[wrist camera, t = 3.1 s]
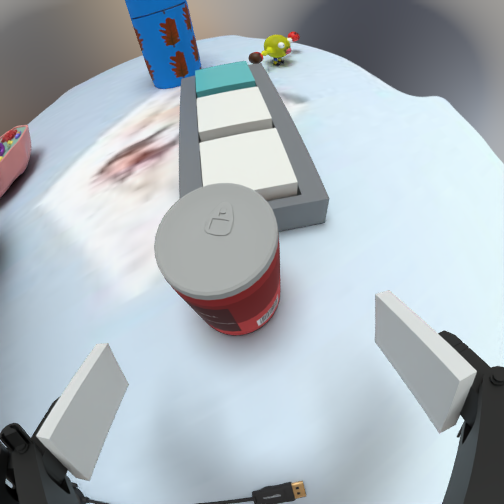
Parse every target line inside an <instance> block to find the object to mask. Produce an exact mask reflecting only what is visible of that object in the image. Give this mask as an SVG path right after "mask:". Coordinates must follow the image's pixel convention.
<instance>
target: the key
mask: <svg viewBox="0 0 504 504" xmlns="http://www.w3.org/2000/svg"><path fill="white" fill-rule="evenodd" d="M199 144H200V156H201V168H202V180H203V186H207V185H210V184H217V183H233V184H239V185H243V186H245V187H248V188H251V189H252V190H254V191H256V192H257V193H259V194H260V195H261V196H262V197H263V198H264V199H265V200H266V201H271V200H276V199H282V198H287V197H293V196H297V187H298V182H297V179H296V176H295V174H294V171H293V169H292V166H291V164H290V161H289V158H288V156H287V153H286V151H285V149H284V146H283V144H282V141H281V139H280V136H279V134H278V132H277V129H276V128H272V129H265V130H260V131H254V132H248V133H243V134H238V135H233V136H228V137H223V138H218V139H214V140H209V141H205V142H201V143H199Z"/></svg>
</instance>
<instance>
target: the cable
mask: <svg viewBox="0 0 504 504" xmlns="http://www.w3.org/2000/svg"><path fill="white" fill-rule="evenodd" d="M71 484H72V486H73V489H74V491H75V494H76V496H77V499H78V501H79V504H86V503H89V502H90V503H94V504H107V503H102V502H98V501H94V500H90V499H89V498H87V497H84V495H83V494H82V492H81V491H80V490H79V489H78V488H76V487H77V484H75V483H72V482H71ZM252 496H253V497H250V498H243V499H235V500H227V501H218V502H208V503H198V504H230V503H239V502H247V501H254V504H277V503H283V502H290V501H294V500H295V499H297V498H301V497H306V493H305V489H304V485H303V481H299V482H295V483H291V482H288V483H284V484H280V485H275V486H267V487H264V488H263V489H260V490H257V491H253V492H252Z"/></svg>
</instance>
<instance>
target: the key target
mask: <svg viewBox="0 0 504 504" xmlns="http://www.w3.org/2000/svg"><path fill="white" fill-rule="evenodd" d="M195 79H196V93H197V97H198V98H200V97H205V96H209V95H214V94H219V93H223V92H229V91H234V90H239V89H245V88H251V87H256V84H255V79H254V77H253V75H252V73H251V71H250V69H249V67H248V65H247V63H246V61H241V62H235V63H230V64H224V65H219V66H214V67H209V68H205V69H200V70H196V71H195Z"/></svg>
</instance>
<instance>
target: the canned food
mask: <svg viewBox="0 0 504 504" xmlns="http://www.w3.org/2000/svg"><path fill="white" fill-rule="evenodd" d="M154 248H155V258H156V261H157V264H158V267H159V269H160V271H161V273H162V274H163V276H164V278H165V279H166V281H167V282H168V283H169V284H170V285H171V286H172V288H173V289H174V290H175V291H176V292H177V293H178V294H179V295H180V296H181V297H182V298H183V299H184V300H185V301H186V302H187V303H188V304H189V305H190V306H191V307H192V308H193V309H194V310H195V311H196V312H197V313H198V314H199V315H200V316H201V317H202V318H203V319H204V320H205V321H206V322H207V323H208V324H209V325H210V326H211V327H212V328H214V329H215V330H217V331H219V332H222V333H225V334H229V335H243V334H247V333H250V332H253V331H255V330H257V329H259V328H260V327H262V326H263V325H264V324H265V323H267V322H268V320H269V319H270V318H271V317H272V316H273V314H274V312H275V310H276V308H277V306H278V303H279V299H280V248H279V233H278V225H277V222H276V218H275V215H274V212H273V210H272V208H271V207H270V205H269V203H268V202H267V201H266V200H265V199H264V198H263V197H262V196H261V195H260V194H259V193H257V192H256V191H254V190H252V189H251V188H248V187H245V186H243V185H239V184H233V183H217V184H210V185H207V186H203V187H200V188H198V189H196V190H194V191H191V192H189V193H188V194H186V195H185V196H183V197H182V198H180V199H179V200H178V201H177V202H176V203H175V204H174V205H173V206H172V207H171V208H170V209H169V210H168V212H167V213H166V214H165V215H164V217H163V219H162V221H161V223H160V225H159V227H158V230H157V233H156V237H155V245H154Z"/></svg>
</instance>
